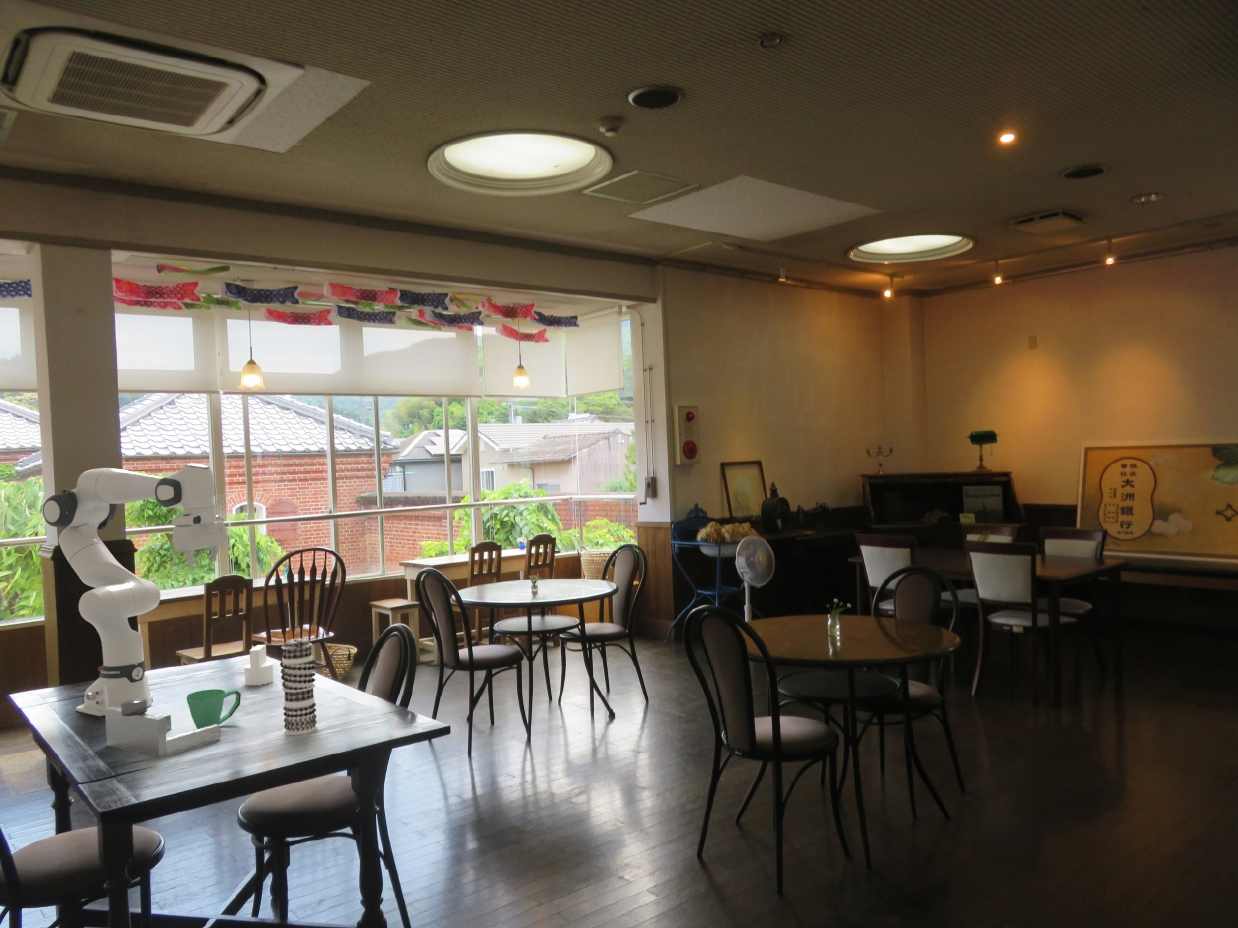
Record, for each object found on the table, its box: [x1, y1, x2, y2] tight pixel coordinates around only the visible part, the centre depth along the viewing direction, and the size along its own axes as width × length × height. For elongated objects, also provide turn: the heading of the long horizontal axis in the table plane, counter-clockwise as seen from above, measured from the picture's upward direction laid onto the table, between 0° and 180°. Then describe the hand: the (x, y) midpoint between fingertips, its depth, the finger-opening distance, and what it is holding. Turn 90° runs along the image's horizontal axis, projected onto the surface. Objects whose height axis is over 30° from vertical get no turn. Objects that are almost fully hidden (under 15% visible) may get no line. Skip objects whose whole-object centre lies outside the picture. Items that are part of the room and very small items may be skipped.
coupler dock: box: [104, 698, 221, 760], centre depth 243 cm, size 19×25×13 cm
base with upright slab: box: [243, 644, 274, 686], centre depth 309 cm, size 9×9×12 cm
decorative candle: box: [279, 637, 318, 736], centre depth 250 cm, size 9×9×25 cm
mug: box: [186, 688, 242, 730], centre depth 257 cm, size 15×10×10 cm
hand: (202, 563), depth 270 cm, fingers open, 8 cm apart
